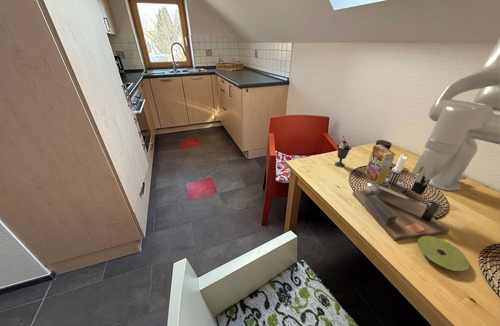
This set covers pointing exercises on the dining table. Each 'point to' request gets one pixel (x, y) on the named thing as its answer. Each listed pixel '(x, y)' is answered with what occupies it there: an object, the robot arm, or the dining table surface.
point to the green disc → (443, 253)
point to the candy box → (379, 163)
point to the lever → (402, 201)
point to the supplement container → (384, 143)
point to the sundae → (342, 152)
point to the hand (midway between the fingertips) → (416, 192)
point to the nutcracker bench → (398, 218)
